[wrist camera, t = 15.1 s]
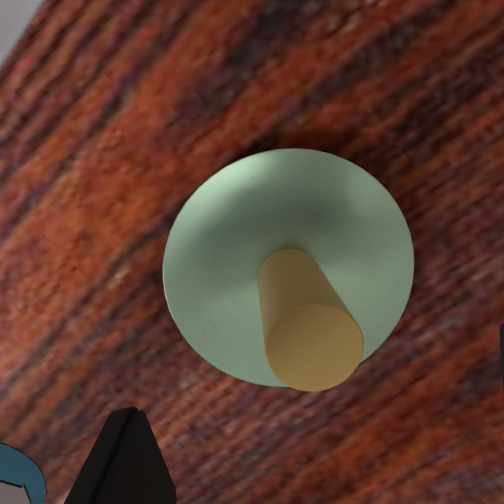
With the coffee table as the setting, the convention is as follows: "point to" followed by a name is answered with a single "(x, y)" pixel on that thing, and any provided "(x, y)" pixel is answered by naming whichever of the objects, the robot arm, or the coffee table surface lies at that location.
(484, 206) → the coffee table surface
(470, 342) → the coffee table surface
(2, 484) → the white printed cylinder
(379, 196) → the lid
